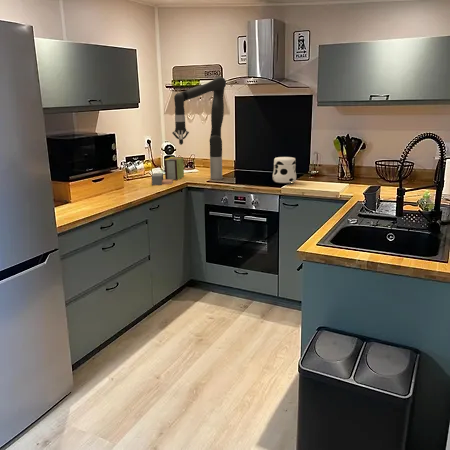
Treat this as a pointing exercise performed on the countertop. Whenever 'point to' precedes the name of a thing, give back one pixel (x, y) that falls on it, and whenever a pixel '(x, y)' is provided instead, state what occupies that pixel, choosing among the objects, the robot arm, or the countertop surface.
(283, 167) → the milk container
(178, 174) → the protein box
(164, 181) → the shell plate
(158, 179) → the overhang dock
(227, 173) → the countertop surface
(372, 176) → the countertop surface
